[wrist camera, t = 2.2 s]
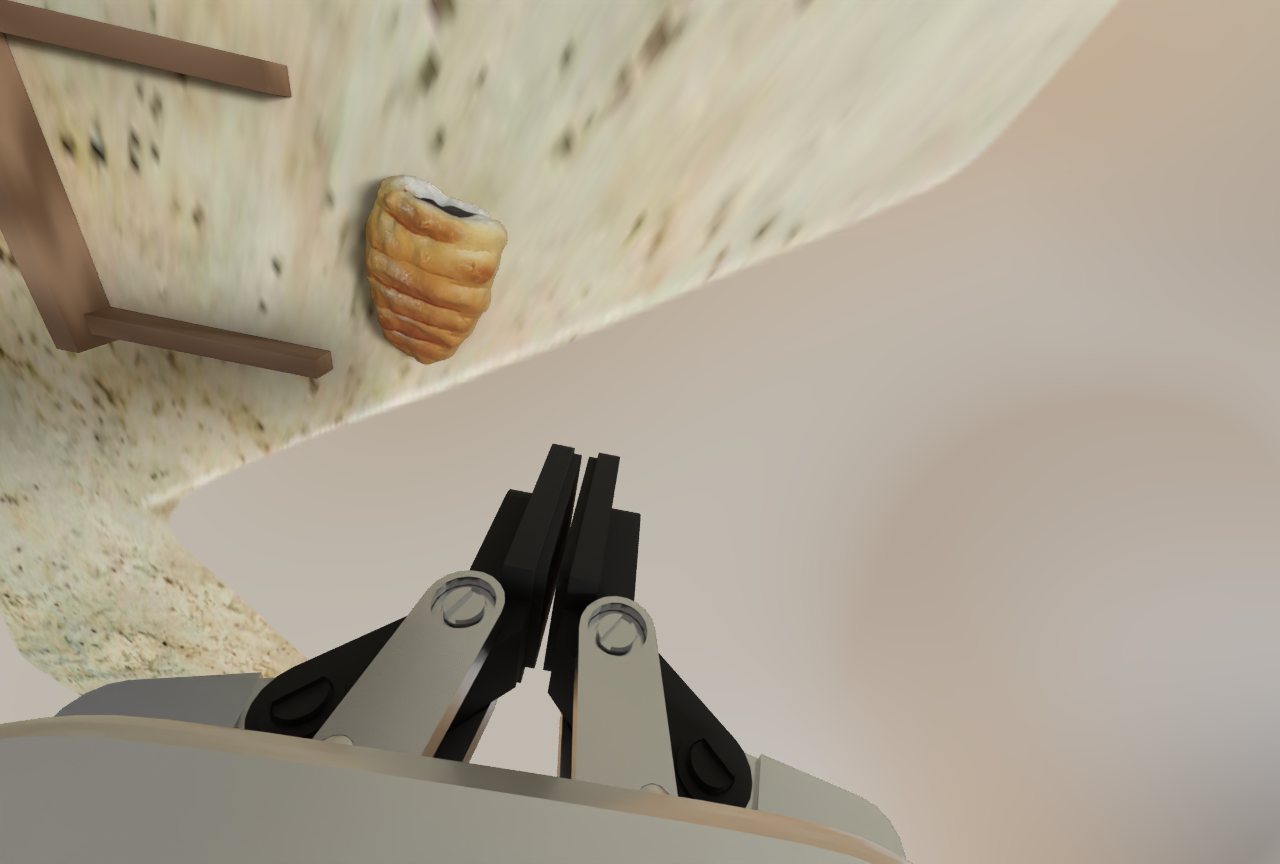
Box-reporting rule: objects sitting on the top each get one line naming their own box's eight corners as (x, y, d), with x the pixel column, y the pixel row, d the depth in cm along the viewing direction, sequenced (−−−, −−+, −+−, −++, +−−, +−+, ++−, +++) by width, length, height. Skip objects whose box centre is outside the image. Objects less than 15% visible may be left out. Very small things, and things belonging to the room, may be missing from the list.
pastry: (479, 370, 29) (454, 396, 26) (371, 327, 28) (330, 349, 25) (518, 218, 24) (494, 227, 21) (390, 161, 24) (343, 161, 20)
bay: (-50, -35, 20) (-136, -58, 18) (283, 43, 21) (239, 30, 19) (102, 334, 29) (56, 348, 27) (334, 380, 30) (308, 397, 28)
